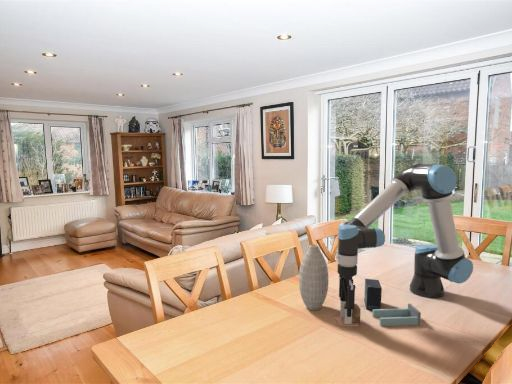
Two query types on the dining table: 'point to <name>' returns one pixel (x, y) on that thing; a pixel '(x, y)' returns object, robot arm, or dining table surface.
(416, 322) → the channel
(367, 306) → the small box
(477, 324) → the dining table surface
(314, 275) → the vase
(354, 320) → the block
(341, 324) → the tile
